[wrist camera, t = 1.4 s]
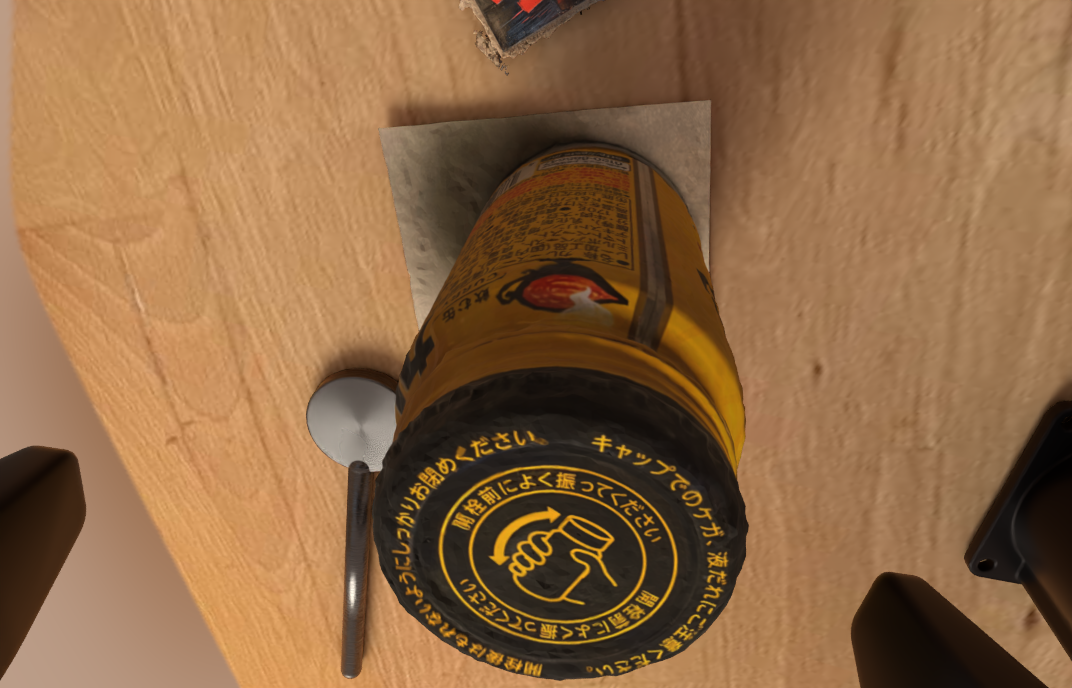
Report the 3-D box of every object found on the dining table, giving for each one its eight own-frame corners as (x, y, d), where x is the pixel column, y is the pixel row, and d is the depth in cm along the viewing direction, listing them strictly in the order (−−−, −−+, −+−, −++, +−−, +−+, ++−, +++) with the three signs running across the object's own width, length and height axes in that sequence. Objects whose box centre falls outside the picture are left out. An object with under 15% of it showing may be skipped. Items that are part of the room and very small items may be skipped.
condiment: (708, 355, 22) (795, 737, 11) (426, 367, 23) (262, 723, 12) (710, 97, 18) (837, 289, 8) (381, 125, 19) (100, 326, 9)
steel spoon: (398, 674, 29) (393, 691, 29) (310, 657, 30) (302, 674, 29) (426, 378, 23) (420, 392, 22) (312, 358, 23) (303, 370, 22)
